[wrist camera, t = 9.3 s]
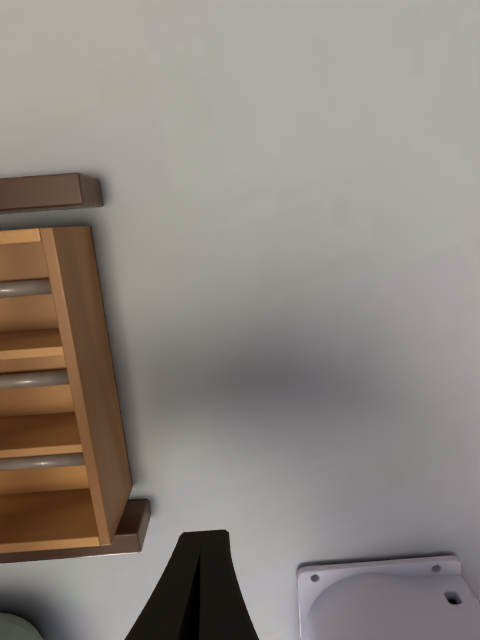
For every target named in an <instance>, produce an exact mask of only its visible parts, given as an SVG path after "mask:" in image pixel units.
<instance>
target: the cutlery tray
mask: <svg viewBox="0 0 480 640" xmlns="http://www.w3.org/2000/svg"><path fill="white" fill-rule="evenodd" d="M131 489H132V481H131V475H130V469H129V462H128V456H127V450H126V444H125V438H124V431H123V425H122V419H121V413H120V407H119V400H118V394H117V388H116V382H115V376H114V369H113V363H112V357H111V351H110V345H109V338H108V332H107V326H106V320H105V313H104V307H103V301H102V295H101V289H100V282H99V276H98V270H97V264H96V258H95V251H94V245H93V239H92V233H91V227H90V226H65V227H45V228H31V229H18V230H4V231H0V553H11V552H24V551H37V550H50V549H63V548H76V547H90V546H100V545H101V546H103V545H111V543H112V541H113V538H114V535H115V533H116V530H117V527H118V525H119V522H120V519H121V516H122V514H123V511H124V508H125V506H126V503H127V500H128V498H129V495H130V492H131Z"/></svg>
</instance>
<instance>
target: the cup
mask: <svg viewBox="0 0 480 640" xmlns="http://www.w3.org/2000/svg"><path fill="white" fill-rule="evenodd" d="M0 640H44V639H43V638H42V636H41V634H40V633H39V632H38V631H37V629H36V628H35V627H34V626H33V625H32V624H31V623H29V622H28V621H27V620H25V619H23V618H21V617H19V616H16V615H13V614H8V613H0Z"/></svg>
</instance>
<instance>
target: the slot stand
mask: <svg viewBox="0 0 480 640" xmlns="http://www.w3.org/2000/svg"><path fill="white" fill-rule="evenodd" d="M102 205H103V203H102V197H101V190H100V184H99V180H98V179H96V178H93V177H90V176H86V175H83V174H80V173H65V174H52V175H39V176H25V177H12V178H0V214H10V213H23V212H37V211H50V210H63V209H76V208H90V207H101V206H102ZM150 517H151V516H150V510H149V503H148V500H135V501H127V503H126V506H125V508H124V511H123V514H122V516H121V519H120V522H119V525H118V527H117V530H116V533H115V535H114V538H113V541H112V543H111V545H103V546H101V545H100V546H90V547H76V548H63V549H50V550H37V551H24V552H11V553H0V563H13V562H26V561H38V560H51V559H64V558H77V557H90V556H103V555H116V554H129V553H140V552H141V550H142V546H143V542H144V539H145V535H146V531H147V528H148V524H149V520H150Z"/></svg>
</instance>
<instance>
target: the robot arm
mask: <svg viewBox="0 0 480 640" xmlns="http://www.w3.org/2000/svg"><path fill="white" fill-rule="evenodd" d="M461 568H462V565H461V562H460V561H459V559H458V558H457V557H456V556H452V555H448V556H436V557H423V558H410V559H397V560H384V561H371V562H359V563H346V564H333V565H320V566H307V567H302V568H300V569H299V570H298V571H297V589H298V611H299V632H300V640H480V604H479V602H478V600H477V599H476V597H475V596H474V594H473V593H472V591H471V590H470V588H469V587H468V585H467V583H466V582H465V580H464V579H463V577H462V576H461ZM312 575H315V576H312ZM125 640H259V638H258V636H257V634H256V631H255V629H254V627H253V624H252V621H251V619H250V616H249V614H248V611H247V608H246V606H245V603H244V600H243V597H242V594H241V591H240V588H239V584H238V581H237V578H236V574H235V571H234V567H233V562H232V558H231V551H230V540H229V532H227V531H226V530H211V531H196V532H183V533H182V534H181V535H180V537H179V539H178V542H177V544H176V547H175V549H174V551H173V553H172V556H171V558H170V560H169V562H168V564H167V566H166V568H165V570H164V572H163V574H162V576H161V578H160V580H159V582H158V584H157V585H156V587H155V589H154V591H153V593H152V595H151V597H150V598H149V600H148V602H147V604H146V605H145V607H144V609H143V610H142V612H141V614H140V615H139V617H138V619H137V620H136V622H135V624H134V625H133V627H132V629H131V630H130V632H129V633H128V635H127V637H126V638H125Z"/></svg>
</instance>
